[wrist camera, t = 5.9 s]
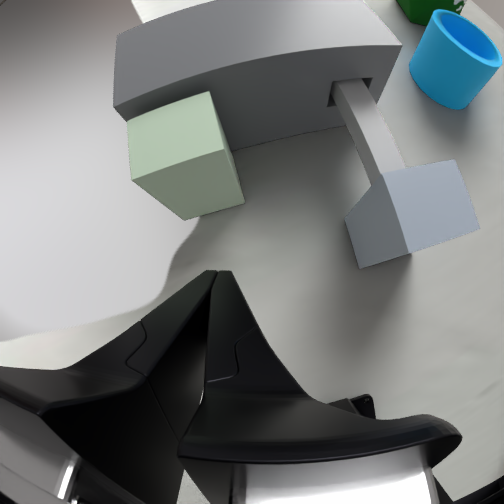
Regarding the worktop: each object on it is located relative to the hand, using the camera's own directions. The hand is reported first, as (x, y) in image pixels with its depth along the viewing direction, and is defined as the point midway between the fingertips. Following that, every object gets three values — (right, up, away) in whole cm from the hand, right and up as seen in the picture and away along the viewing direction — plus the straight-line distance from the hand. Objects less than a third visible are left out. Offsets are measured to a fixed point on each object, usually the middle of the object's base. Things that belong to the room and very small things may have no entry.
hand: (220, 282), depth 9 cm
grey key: (+10, +8, +13) cm, 18 cm away
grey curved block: (+2, +14, +14) cm, 20 cm away
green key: (-4, +11, +14) cm, 18 cm away
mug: (+24, +21, +13) cm, 34 cm away
